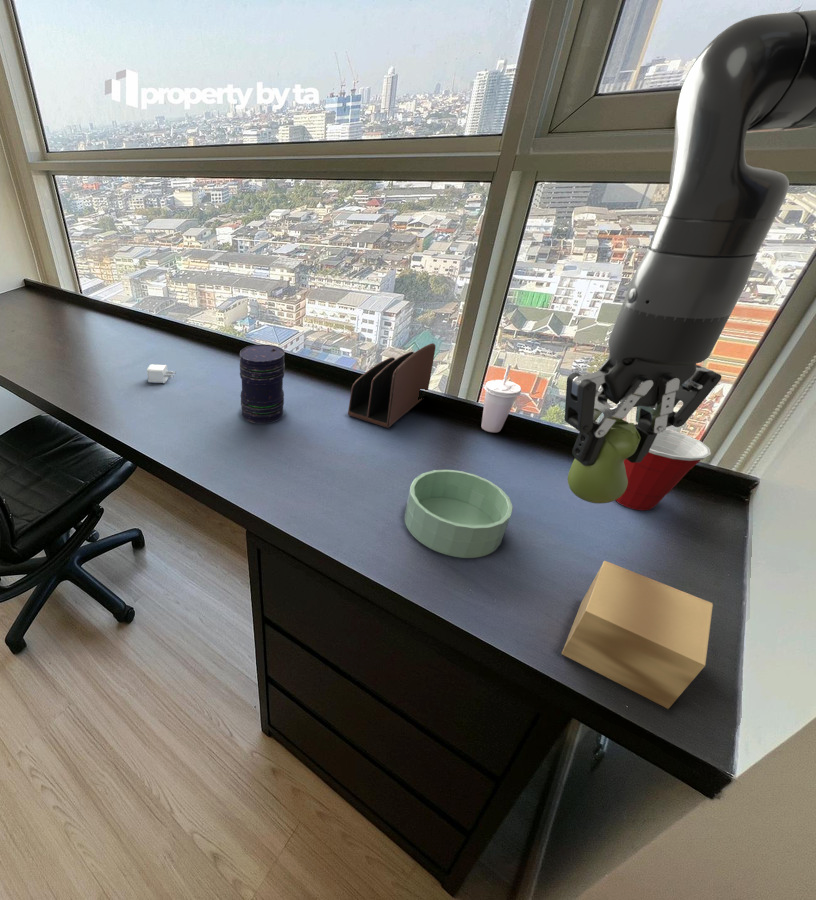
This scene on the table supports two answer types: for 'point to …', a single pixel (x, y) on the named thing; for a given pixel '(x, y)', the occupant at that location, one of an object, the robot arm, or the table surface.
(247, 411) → the dark blue canister
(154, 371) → the usb wall charger
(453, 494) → the pot
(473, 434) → the table surface
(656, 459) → the plastic cup
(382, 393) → the letter holder
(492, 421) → the smoothie
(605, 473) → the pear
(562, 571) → the table surface
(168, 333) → the table surface
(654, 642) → the block
